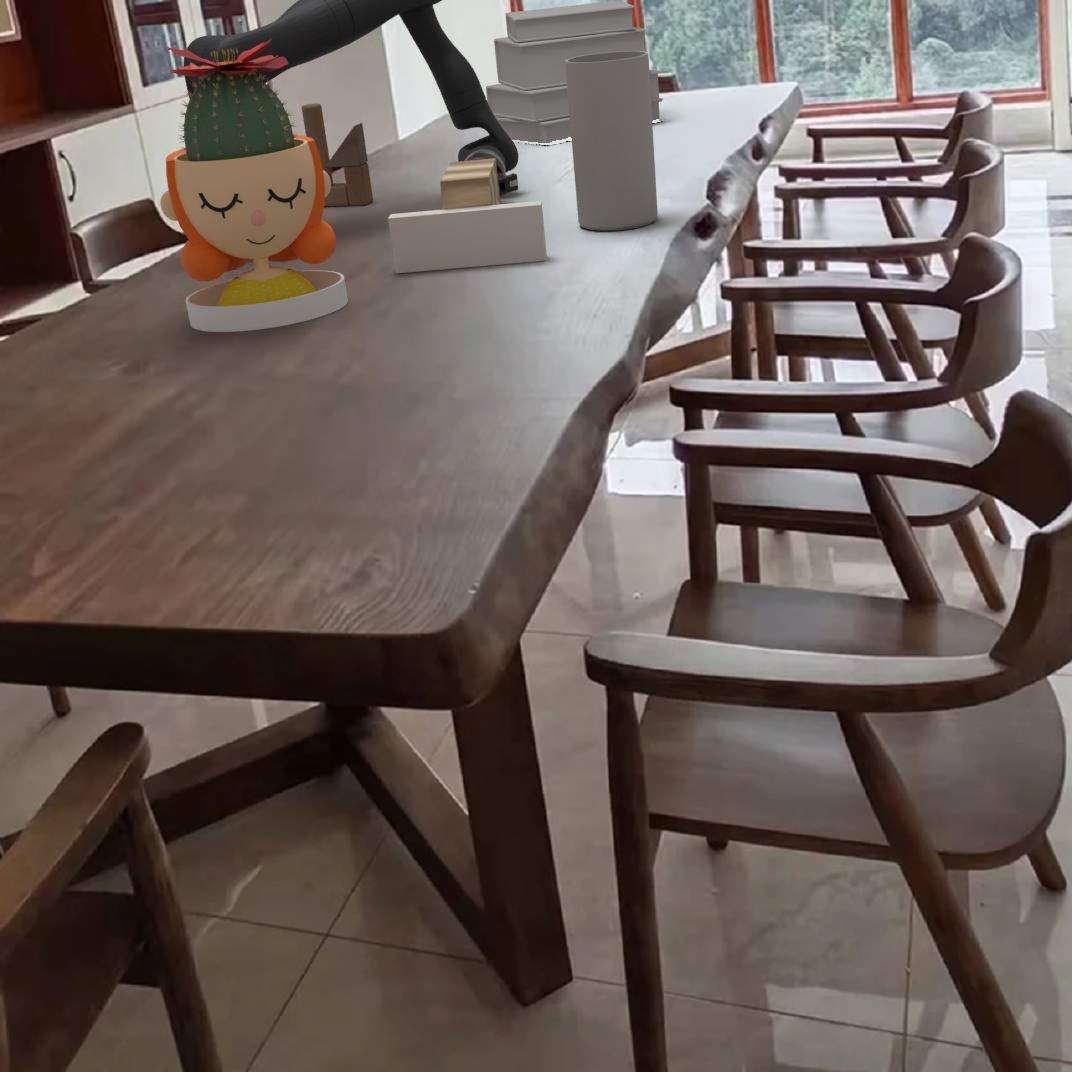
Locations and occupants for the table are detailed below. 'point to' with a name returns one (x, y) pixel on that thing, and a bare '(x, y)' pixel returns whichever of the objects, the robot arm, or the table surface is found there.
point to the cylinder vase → (612, 140)
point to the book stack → (555, 64)
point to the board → (468, 237)
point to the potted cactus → (249, 201)
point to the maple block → (470, 184)
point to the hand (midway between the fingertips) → (476, 196)
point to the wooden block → (341, 160)
